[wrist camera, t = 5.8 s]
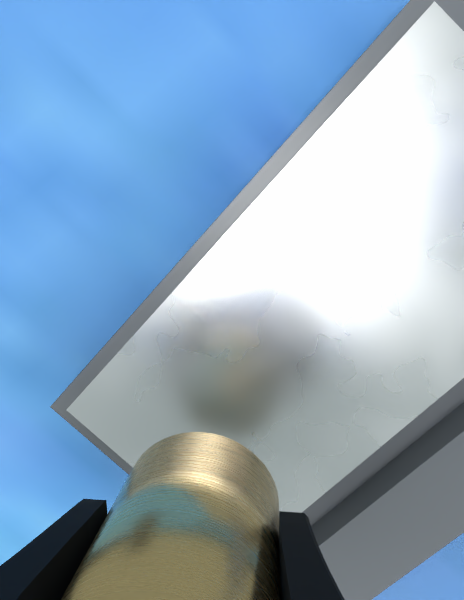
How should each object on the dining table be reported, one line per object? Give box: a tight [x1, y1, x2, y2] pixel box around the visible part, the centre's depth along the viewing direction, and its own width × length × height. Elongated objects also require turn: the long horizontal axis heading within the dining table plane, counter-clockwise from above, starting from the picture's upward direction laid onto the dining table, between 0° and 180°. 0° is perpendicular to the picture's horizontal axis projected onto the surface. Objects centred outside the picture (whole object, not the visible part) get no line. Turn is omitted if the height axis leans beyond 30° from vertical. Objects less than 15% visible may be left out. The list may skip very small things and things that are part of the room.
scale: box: [51, 0, 464, 600], centre depth 16 cm, size 14×20×4 cm
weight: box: [61, 432, 281, 600], centre depth 9 cm, size 4×4×5 cm
